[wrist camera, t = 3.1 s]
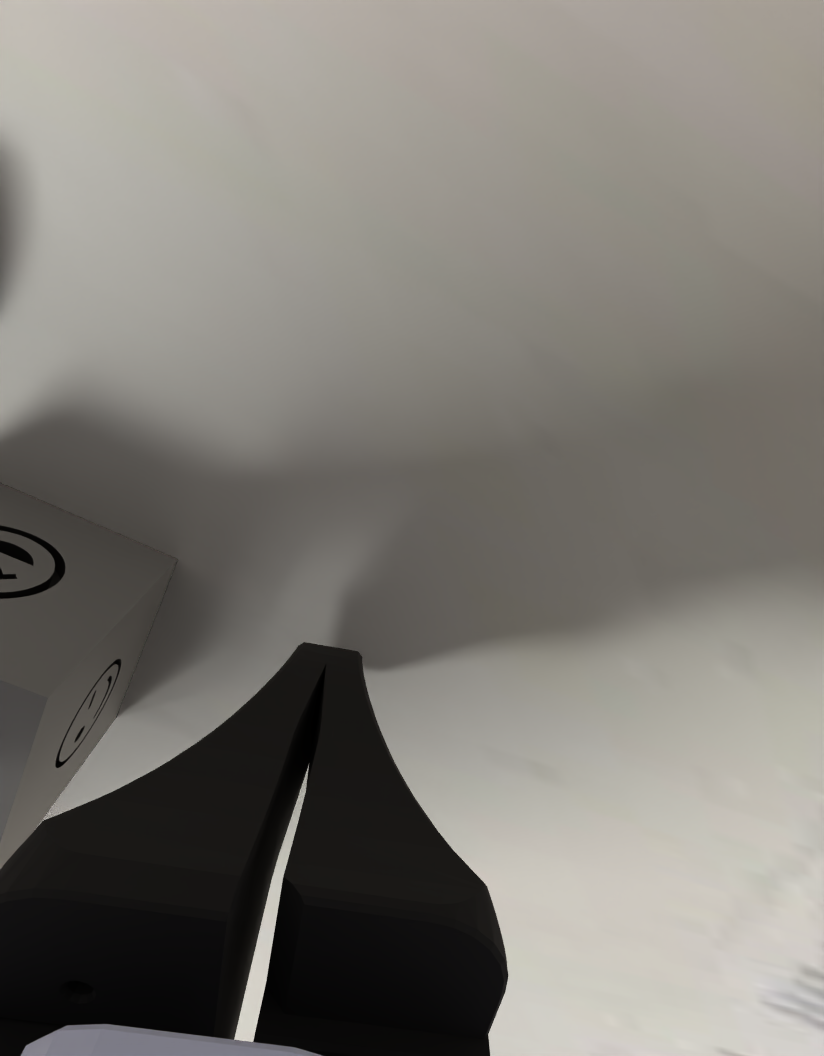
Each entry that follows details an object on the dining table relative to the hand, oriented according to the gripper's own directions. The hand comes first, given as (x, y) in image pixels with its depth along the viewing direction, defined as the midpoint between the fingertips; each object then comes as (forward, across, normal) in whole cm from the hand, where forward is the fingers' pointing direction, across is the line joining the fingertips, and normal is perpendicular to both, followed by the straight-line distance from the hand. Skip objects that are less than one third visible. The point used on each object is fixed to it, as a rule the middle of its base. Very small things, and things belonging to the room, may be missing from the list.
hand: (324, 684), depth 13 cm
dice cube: (+2, +7, 0) cm, 7 cm away
